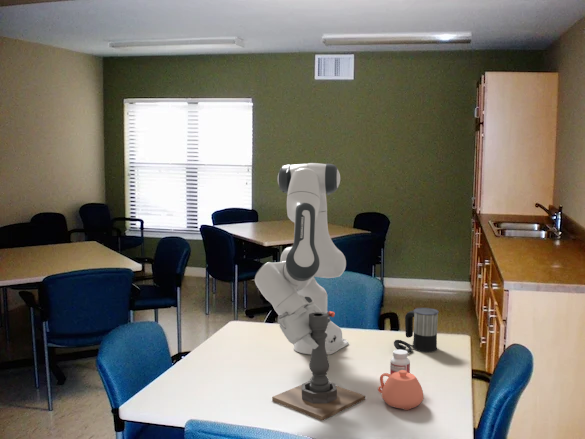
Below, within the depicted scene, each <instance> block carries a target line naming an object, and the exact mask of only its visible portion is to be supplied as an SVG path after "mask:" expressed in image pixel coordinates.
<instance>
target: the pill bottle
mask: <svg viewBox="0 0 585 439" xmlns="http://www.w3.org/2000/svg"><path fill="white" fill-rule="evenodd" d="M408 355H409V353H408V352H407V351H406V350H401V349H398V350H397V349H394V350H393V351H392V357H391V359H390V364H389V365H390V367H389V369H390V370H389V371H390V372H389V374H390V375H391V374H393V373H395V372H399V371H400V370H405V371H407V373H410V372H411V370H410V369H411V360H410V359H409V358H408Z"/></svg>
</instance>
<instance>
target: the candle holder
mask: <svg viewBox="0 0 585 439" xmlns="http://www.w3.org/2000/svg"><path fill="white" fill-rule="evenodd" d="M309 326H310V329H311V330H312V333H311V334H310V336H311V338H312V339H313V340H314V341H317V342H318V343H319V346H318V347H317V348H316V349H312V353H311V354H310V360H309V364H308V366H309V370H310V372H311V374H312V376H311V378H310V380H309V381H310V382H311V383H310V391H312V392H328V391H330V384H329V383H328V382H330V380H329V377H328V376H327V374H328V372H329V370H330V362H329V358H328V354H327V353H326V349H325V339H326V337H327V333H325V331H326V329H327V326H328V314H327V313H322V312H315V313H311V314H309Z"/></svg>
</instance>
